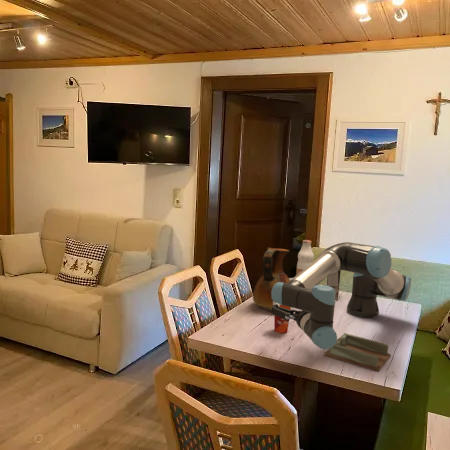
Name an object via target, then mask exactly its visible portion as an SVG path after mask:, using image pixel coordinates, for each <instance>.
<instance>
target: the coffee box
mask: <svg viewBox="0 0 450 450" xmlns="http://www.w3.org/2000/svg"><path fill="white" fill-rule="evenodd" d="M341 271H342V270H338V271H337V272H335V273H330V274H329V275H328V276H327V277H326V286H330V287H332V288H333V289H334V290H335V301H338V300H339V292H340V283H341V273H342V272H341Z"/></svg>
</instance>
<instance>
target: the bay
mask: <svg viewBox="0 0 450 450" xmlns="http://www.w3.org/2000/svg"><path fill="white" fill-rule="evenodd" d="M323 355H324V356H326V357H329V358H333V359H336V360H340V361H342V362H346V363H350V364H353V365H356V366H359V367H362V368H366V369H369V370H372V371H376V372H379V371H380V370H381V369H382V368H383V367H384V365H385V364H386V362H387V361H388V360H389V358H390V357H391V353H389V344H388V343H384V342H380V341H376V340H371V339H368V338H364V337H361V336H358V335H353V334H349V333H347V332H344V333H343V334H342V335H341V336H340V337H337V341H336V343H335V345H334V346H333V347H331V348H329V349H326V350H325V352H324V354H323Z"/></svg>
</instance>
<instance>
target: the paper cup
mask: <svg viewBox="0 0 450 450" xmlns="http://www.w3.org/2000/svg"><path fill="white" fill-rule="evenodd" d="M279 305H280V307H282V308H286V309H289V310H292V307H288V306H284V305H281V304H279ZM273 315H274V314H273ZM273 320H274V325H273V326H274V328H273V329H274V332H276V333H279V334H286V333H287V332H288V331H289V323H290V320H289V321H286V320H285V319H283V318H280V317H278V316H276V315H274V318H273Z"/></svg>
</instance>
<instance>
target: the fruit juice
mask: <svg viewBox="0 0 450 450" xmlns="http://www.w3.org/2000/svg"><path fill="white" fill-rule="evenodd" d="M311 245H312V240H308V239H304V240H302V246H301V248H300V250H299V251H298V253H297V259H298V260H297V264H296V274H295V276H296V275H298V274H299V273H300V272H301V271H303V270H304V269H305V268H306V267H308V266H309V265H310V264H311V263H313V262H314V259H315V255H314V252H313V248H312V246H311Z"/></svg>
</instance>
